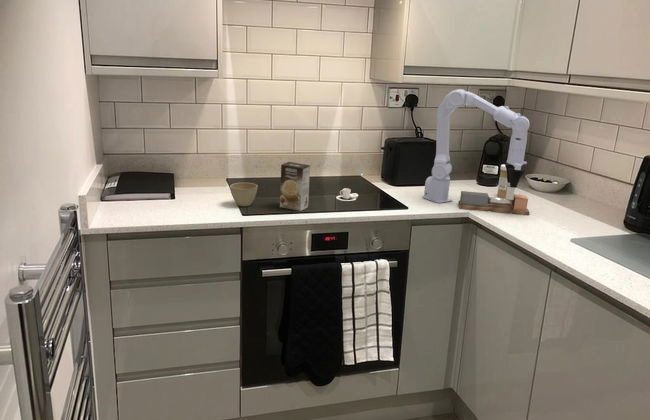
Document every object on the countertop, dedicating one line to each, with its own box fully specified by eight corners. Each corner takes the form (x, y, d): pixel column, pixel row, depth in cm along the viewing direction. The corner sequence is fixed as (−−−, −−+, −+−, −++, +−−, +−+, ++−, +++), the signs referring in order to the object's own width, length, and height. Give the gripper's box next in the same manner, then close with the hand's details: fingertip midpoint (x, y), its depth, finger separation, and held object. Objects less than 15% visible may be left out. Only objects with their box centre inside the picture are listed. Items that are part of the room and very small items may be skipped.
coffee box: (278, 207, 196) (279, 164, 191) (287, 203, 201) (288, 161, 197) (301, 211, 192) (302, 167, 187) (309, 207, 198) (310, 164, 193)
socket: (513, 209, 202) (515, 197, 201) (511, 206, 207) (513, 194, 206) (526, 210, 202) (528, 198, 200) (523, 207, 207) (525, 195, 205)
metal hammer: (481, 204, 205) (483, 184, 203) (480, 202, 208) (483, 183, 206) (520, 207, 203) (523, 188, 201) (519, 205, 206) (522, 186, 203)
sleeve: (460, 204, 206) (461, 193, 205) (459, 201, 210) (461, 190, 209) (487, 207, 204) (488, 196, 203) (485, 204, 208) (487, 193, 207)
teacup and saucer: (357, 197, 216) (358, 187, 215) (358, 202, 208) (359, 192, 207) (336, 196, 216) (336, 186, 215) (335, 201, 208) (336, 191, 207)
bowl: (235, 199, 203) (235, 181, 200) (261, 202, 201) (261, 183, 199) (225, 206, 193) (225, 187, 191) (252, 209, 191) (252, 190, 189)
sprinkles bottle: (510, 197, 225) (514, 165, 222) (503, 198, 223) (507, 166, 219) (501, 194, 229) (505, 163, 225) (494, 195, 227) (498, 164, 223)
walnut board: (459, 208, 205) (459, 205, 204) (458, 203, 212) (458, 200, 212) (529, 215, 201) (529, 212, 200) (525, 209, 208) (525, 206, 208)
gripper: (532, 153, 191) (526, 190, 195) (524, 147, 205) (519, 181, 209) (511, 152, 192) (506, 188, 196) (505, 145, 206) (500, 179, 210)
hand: (511, 184), depth 203 cm, fingers open, 7 cm apart
